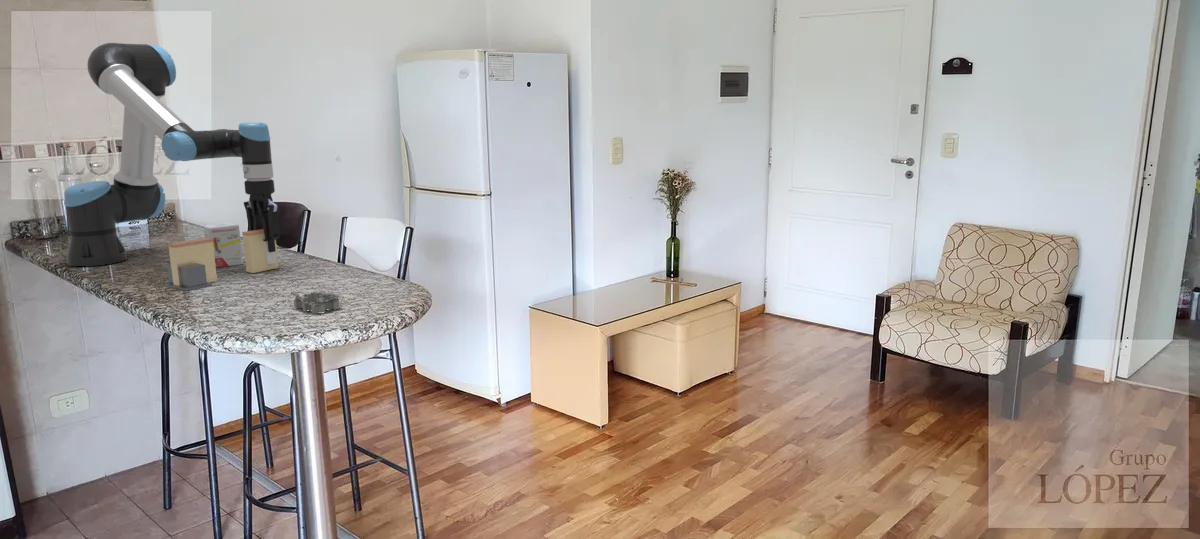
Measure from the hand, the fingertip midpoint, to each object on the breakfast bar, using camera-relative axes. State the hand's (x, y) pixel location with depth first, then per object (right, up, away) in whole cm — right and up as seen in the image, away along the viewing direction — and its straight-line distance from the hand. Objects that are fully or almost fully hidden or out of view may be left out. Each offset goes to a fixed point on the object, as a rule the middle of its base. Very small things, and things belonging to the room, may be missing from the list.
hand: (267, 262), depth 222 cm
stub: (-1, -2, -1) cm, 3 cm away
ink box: (-15, -1, +7) cm, 16 cm away
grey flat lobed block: (+29, -11, -40) cm, 51 cm away
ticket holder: (-12, -6, -17) cm, 21 cm away
